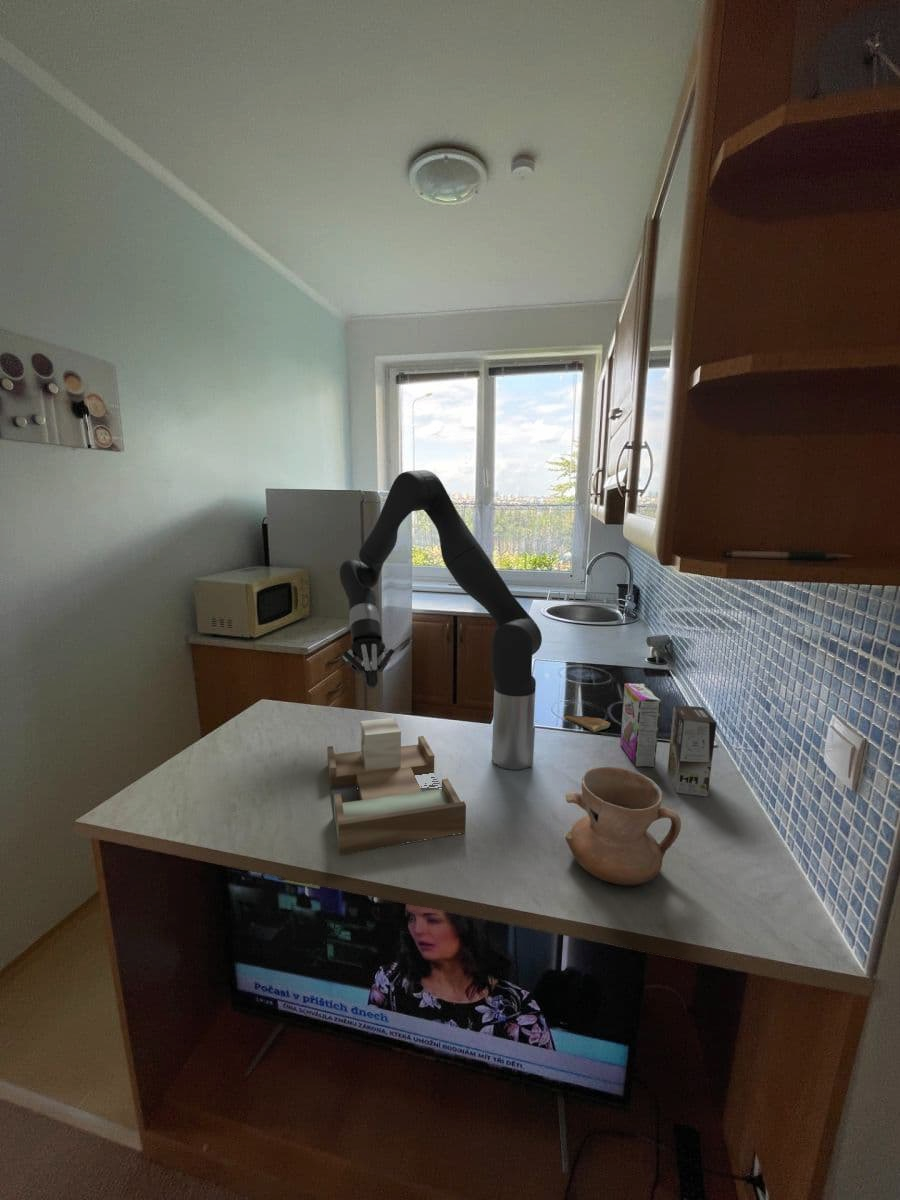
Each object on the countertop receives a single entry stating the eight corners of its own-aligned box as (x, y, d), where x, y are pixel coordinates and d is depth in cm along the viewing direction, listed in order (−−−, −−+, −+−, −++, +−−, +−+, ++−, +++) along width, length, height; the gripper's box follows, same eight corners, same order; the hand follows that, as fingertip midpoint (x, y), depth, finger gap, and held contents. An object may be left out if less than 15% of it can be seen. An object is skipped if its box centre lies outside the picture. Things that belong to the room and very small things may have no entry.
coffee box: (709, 797, 103) (717, 723, 100) (675, 793, 104) (683, 719, 102) (697, 775, 112) (704, 706, 109) (666, 771, 113) (673, 703, 110)
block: (361, 754, 113) (360, 721, 111) (394, 750, 115) (394, 717, 114) (365, 771, 106) (365, 735, 104) (400, 766, 108) (400, 731, 107)
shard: (563, 720, 142) (563, 714, 142) (582, 714, 146) (583, 708, 146) (593, 734, 133) (593, 728, 133) (612, 728, 137) (613, 722, 137)
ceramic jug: (558, 883, 78) (565, 800, 75) (561, 827, 92) (568, 755, 89) (683, 910, 74) (696, 823, 71) (667, 847, 88) (677, 772, 85)
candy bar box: (618, 745, 126) (623, 682, 123) (638, 746, 126) (644, 683, 123) (633, 767, 115) (639, 699, 112) (655, 768, 115) (662, 699, 112)
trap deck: (327, 765, 113) (327, 742, 112) (423, 753, 119) (423, 732, 118) (339, 855, 83) (339, 824, 82) (465, 833, 90) (466, 805, 89)
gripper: (339, 618, 124) (344, 682, 114) (392, 616, 127) (402, 678, 118) (338, 634, 129) (342, 696, 120) (389, 632, 133) (397, 691, 124)
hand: (372, 687), depth 119 cm, fingers closed
